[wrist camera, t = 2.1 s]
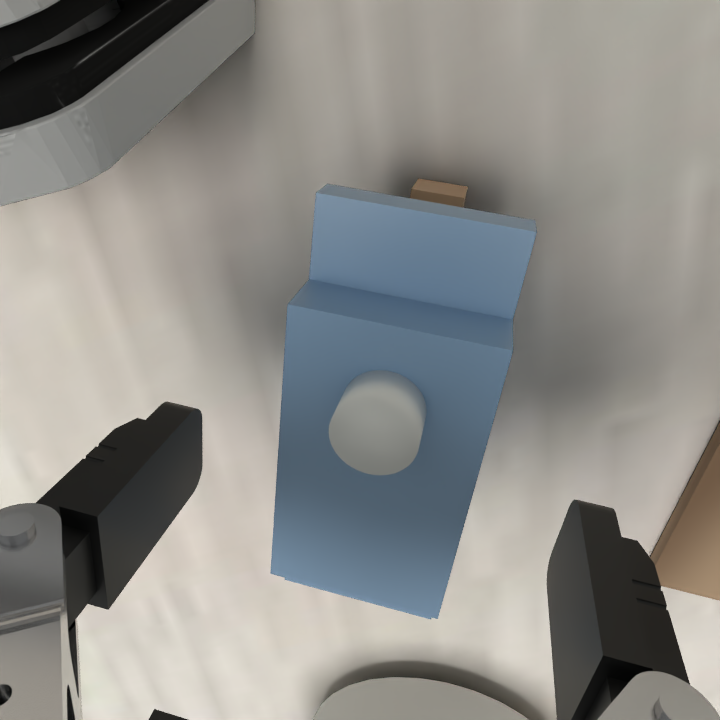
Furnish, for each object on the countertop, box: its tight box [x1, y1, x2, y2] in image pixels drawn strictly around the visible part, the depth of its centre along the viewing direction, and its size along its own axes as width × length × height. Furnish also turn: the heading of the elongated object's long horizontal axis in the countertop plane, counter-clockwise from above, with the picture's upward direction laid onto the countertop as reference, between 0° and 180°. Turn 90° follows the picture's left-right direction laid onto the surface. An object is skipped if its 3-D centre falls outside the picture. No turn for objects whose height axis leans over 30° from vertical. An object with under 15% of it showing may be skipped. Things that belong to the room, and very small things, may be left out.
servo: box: [271, 178, 537, 619], centre depth 14 cm, size 4×10×7 cm, turn 173°
